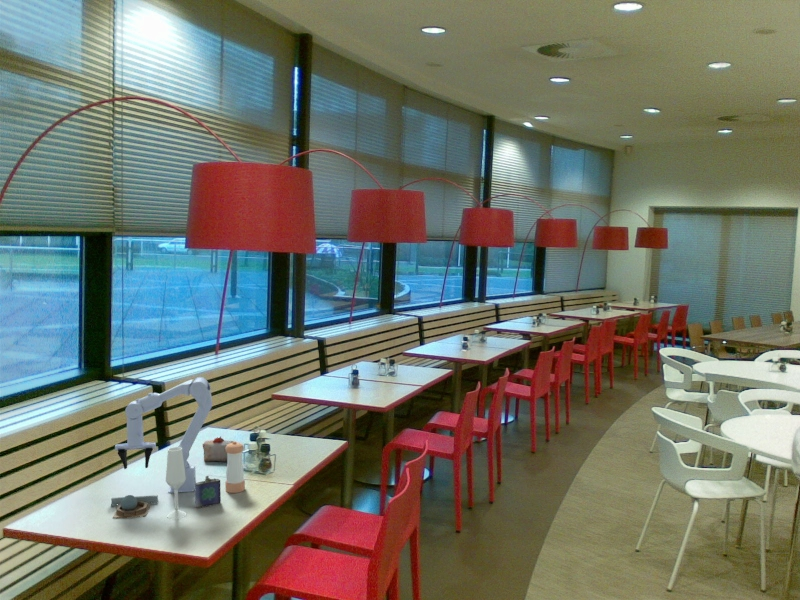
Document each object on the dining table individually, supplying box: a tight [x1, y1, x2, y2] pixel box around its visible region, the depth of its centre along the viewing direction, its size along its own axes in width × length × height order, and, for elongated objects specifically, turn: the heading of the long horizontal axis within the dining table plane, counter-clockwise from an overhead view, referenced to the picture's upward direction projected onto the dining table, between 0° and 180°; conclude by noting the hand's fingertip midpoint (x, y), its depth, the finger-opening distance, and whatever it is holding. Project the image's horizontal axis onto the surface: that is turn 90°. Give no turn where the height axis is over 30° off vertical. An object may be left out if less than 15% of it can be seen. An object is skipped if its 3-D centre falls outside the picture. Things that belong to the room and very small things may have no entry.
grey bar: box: [110, 494, 159, 507], centre depth 260 cm, size 16×3×2 cm, turn 100°
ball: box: [121, 494, 137, 511], centre depth 253 cm, size 6×6×6 cm
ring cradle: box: [112, 501, 152, 519], centre depth 253 cm, size 11×11×2 cm
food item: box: [202, 436, 234, 463], centre depth 310 cm, size 14×8×10 cm, turn 85°
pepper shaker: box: [225, 440, 246, 494], centre depth 274 cm, size 7×7×19 cm
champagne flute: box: [165, 446, 187, 520], centre depth 249 cm, size 7×7×24 cm
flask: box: [194, 475, 222, 509], centre depth 259 cm, size 9×3×11 cm, turn 121°
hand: (136, 467), depth 272 cm, fingers open, 7 cm apart
